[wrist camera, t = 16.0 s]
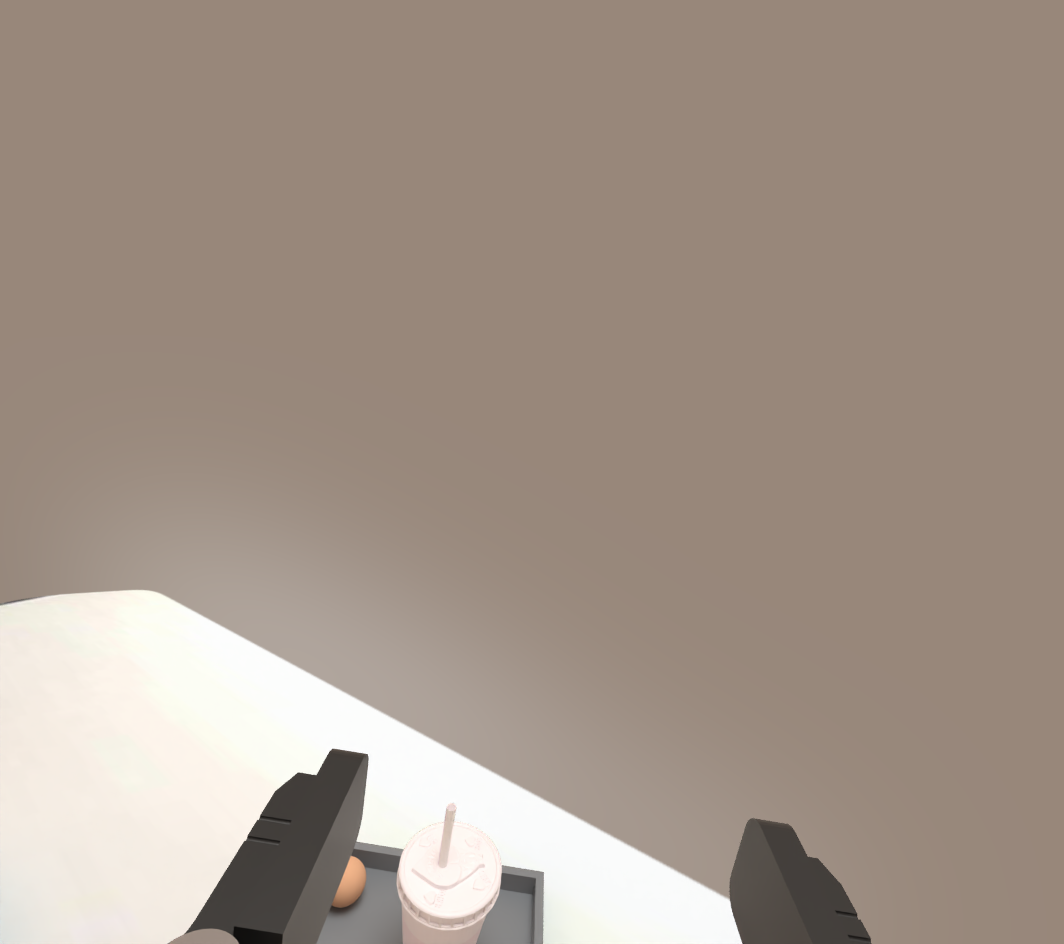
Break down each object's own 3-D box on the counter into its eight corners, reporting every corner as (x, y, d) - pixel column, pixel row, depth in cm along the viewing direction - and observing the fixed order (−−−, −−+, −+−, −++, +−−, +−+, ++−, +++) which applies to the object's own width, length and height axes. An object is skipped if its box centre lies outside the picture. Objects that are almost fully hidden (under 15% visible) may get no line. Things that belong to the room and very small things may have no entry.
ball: (369, 881, 41) (373, 849, 41) (356, 921, 38) (359, 888, 38) (330, 874, 41) (333, 842, 41) (314, 914, 38) (317, 880, 38)
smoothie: (380, 939, 37) (402, 769, 34) (472, 923, 39) (500, 761, 36) (382, 1056, 31) (409, 863, 28) (490, 1030, 33) (526, 848, 30)
